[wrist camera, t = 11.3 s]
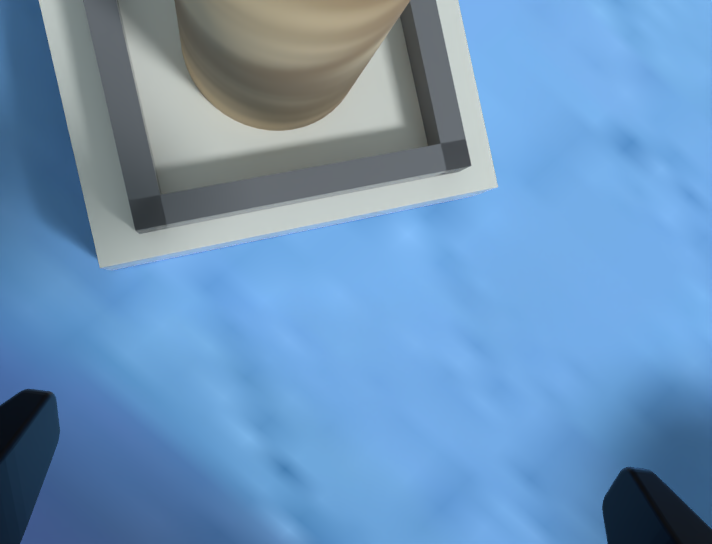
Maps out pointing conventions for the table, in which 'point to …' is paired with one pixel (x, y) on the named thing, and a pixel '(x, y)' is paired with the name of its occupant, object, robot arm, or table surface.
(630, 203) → the table surface
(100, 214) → the stand
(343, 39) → the pepper mill
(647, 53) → the table surface
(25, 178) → the table surface
